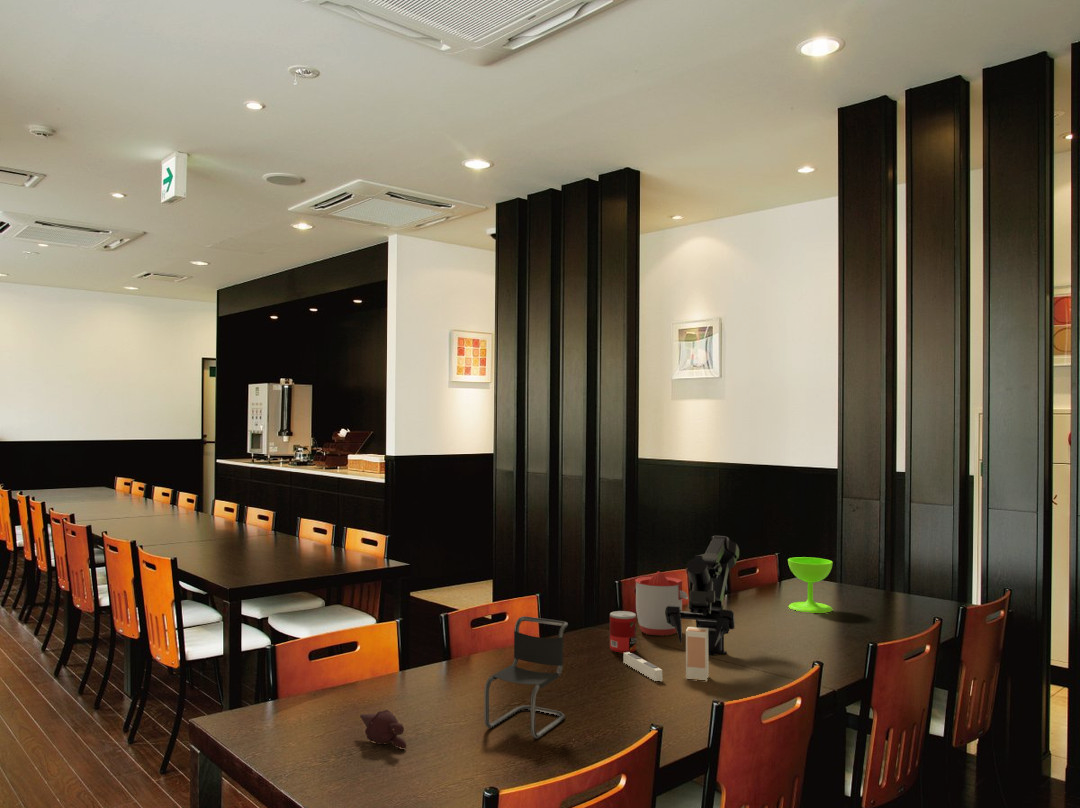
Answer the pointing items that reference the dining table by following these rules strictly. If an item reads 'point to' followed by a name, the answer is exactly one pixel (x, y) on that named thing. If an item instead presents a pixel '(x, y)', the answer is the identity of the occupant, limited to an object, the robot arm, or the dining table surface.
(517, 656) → the chair
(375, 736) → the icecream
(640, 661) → the rail
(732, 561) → the robot arm
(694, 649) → the carton
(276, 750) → the dining table surface
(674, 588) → the citrus juicer
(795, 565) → the wineglass
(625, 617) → the canned food
